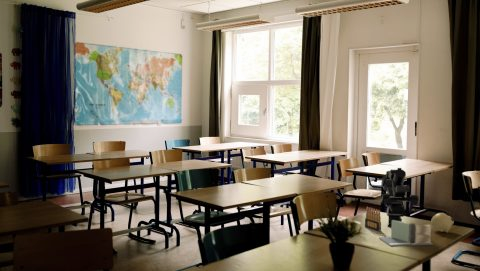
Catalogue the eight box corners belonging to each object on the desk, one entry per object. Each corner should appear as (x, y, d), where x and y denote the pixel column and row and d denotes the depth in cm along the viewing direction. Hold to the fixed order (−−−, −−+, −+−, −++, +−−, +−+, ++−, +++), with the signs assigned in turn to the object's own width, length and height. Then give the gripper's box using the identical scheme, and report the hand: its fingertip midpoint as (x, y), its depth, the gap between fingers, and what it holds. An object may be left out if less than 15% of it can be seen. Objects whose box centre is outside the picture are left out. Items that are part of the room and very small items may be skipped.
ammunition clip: (364, 226, 268) (365, 206, 267) (366, 226, 269) (367, 205, 268) (378, 231, 259) (379, 210, 258) (381, 231, 260) (381, 209, 259)
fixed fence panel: (428, 241, 238) (429, 222, 238) (430, 243, 236) (431, 223, 235) (409, 242, 237) (409, 223, 236) (411, 243, 235) (411, 224, 234)
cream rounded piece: (457, 232, 257) (458, 213, 256) (442, 235, 251) (443, 215, 251) (441, 228, 266) (442, 209, 265) (427, 230, 260) (427, 212, 259)
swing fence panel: (409, 241, 238) (410, 223, 237) (408, 241, 237) (408, 224, 236) (392, 236, 246) (393, 219, 245) (391, 237, 245) (391, 220, 244)
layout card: (419, 236, 249) (419, 235, 249) (432, 244, 235) (432, 243, 235) (378, 238, 246) (378, 237, 246) (390, 246, 232) (390, 245, 232)
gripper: (382, 179, 255) (385, 203, 245) (418, 180, 252) (422, 204, 242) (380, 191, 263) (382, 214, 253) (414, 192, 260) (418, 216, 250)
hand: (401, 212), depth 249 cm, fingers open, 9 cm apart
